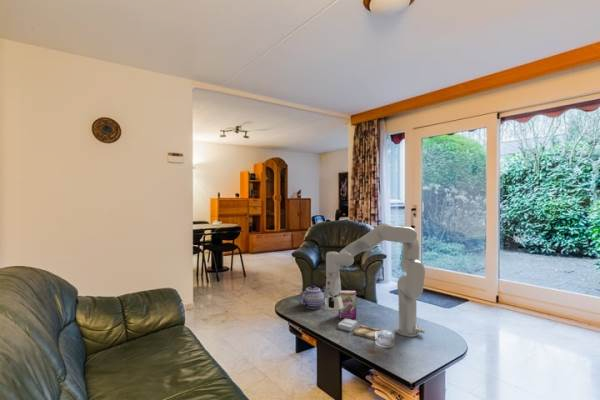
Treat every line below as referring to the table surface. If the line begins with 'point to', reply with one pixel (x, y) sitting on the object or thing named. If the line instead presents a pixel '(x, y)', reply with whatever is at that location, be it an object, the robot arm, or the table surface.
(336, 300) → the stub
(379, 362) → the table surface
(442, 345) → the table surface
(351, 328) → the striped square panel
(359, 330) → the tray
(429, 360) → the table surface
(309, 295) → the teapot
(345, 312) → the candy bar box
